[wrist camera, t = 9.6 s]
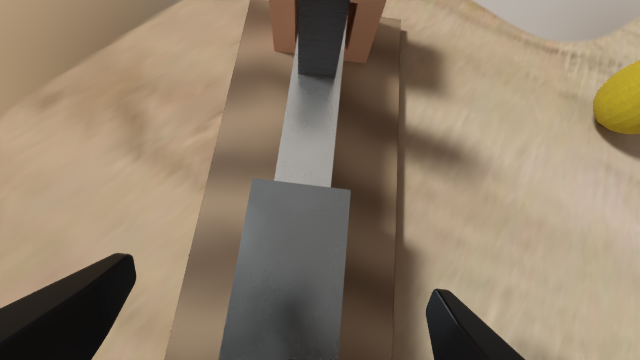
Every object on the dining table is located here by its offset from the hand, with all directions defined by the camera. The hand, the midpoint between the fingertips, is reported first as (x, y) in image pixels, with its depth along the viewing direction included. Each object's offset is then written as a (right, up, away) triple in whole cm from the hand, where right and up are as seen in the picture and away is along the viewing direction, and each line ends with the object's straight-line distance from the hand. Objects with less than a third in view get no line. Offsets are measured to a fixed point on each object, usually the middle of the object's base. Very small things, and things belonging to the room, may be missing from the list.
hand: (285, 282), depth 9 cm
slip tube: (0, +6, +12) cm, 13 cm away
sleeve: (-1, -6, +10) cm, 12 cm away
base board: (0, +3, +14) cm, 14 cm away
